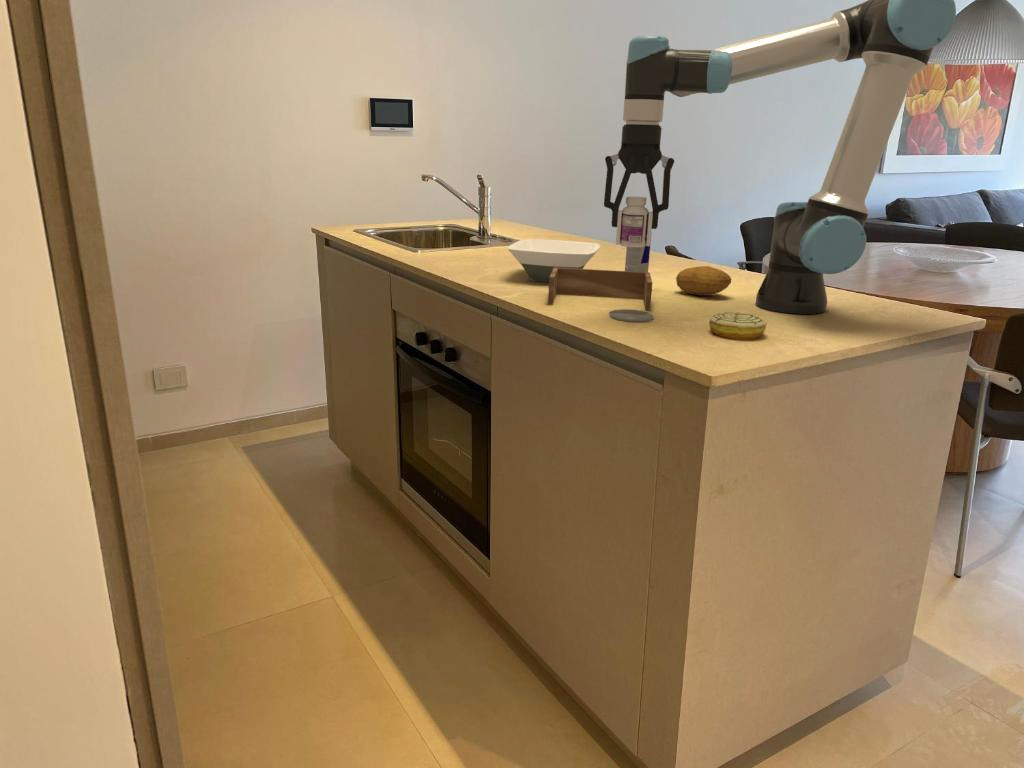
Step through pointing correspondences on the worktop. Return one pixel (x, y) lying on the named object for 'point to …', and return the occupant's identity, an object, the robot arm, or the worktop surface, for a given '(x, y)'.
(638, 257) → the beverage can
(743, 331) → the decorated donut
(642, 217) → the pill bottle
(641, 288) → the wooden u-shaped frame
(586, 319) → the worktop surface
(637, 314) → the coaster
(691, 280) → the potato
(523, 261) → the bowl
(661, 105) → the robot arm
